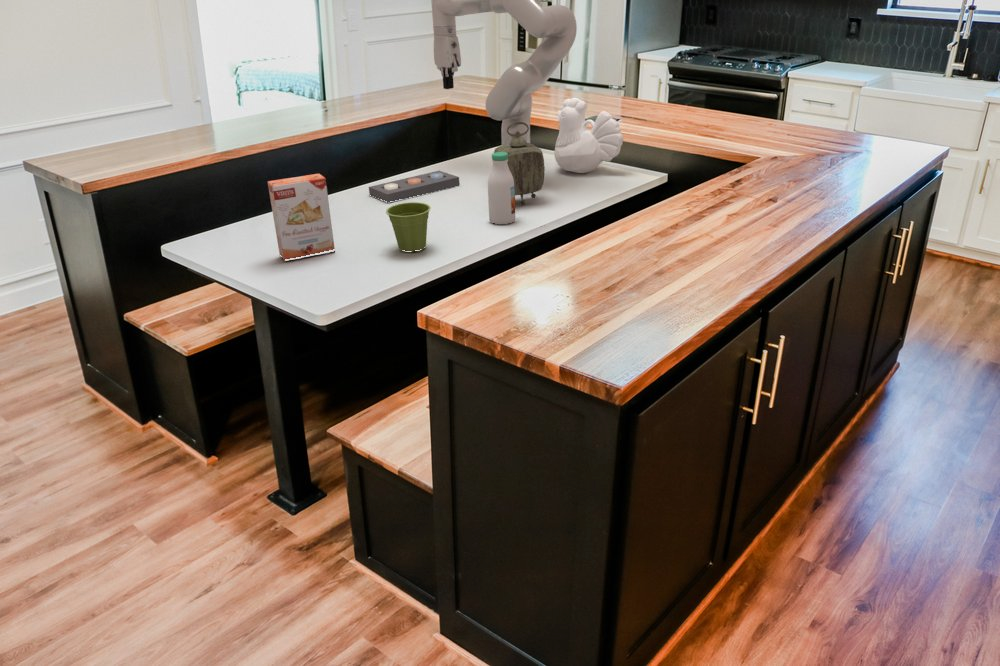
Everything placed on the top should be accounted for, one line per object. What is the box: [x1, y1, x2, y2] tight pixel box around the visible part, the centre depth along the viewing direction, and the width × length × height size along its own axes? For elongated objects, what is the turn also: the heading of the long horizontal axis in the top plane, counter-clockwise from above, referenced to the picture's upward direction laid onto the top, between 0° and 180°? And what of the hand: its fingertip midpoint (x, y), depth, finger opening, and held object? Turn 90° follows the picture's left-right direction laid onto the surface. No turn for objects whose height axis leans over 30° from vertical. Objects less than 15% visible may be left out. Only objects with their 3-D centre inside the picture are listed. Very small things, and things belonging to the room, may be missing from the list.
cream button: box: [384, 183, 398, 190], centre depth 258 cm, size 4×4×3 cm
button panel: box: [368, 170, 461, 202], centre depth 263 cm, size 12×28×3 cm, turn 128°
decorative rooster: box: [554, 97, 624, 174], centre depth 270 cm, size 25×16×25 cm, turn 43°
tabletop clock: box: [493, 122, 546, 206], centre depth 241 cm, size 14×9×25 cm, turn 108°
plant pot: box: [385, 201, 432, 252], centre depth 211 cm, size 12×12×11 cm
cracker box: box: [267, 173, 336, 261], centre depth 208 cm, size 14×6×21 cm, turn 117°
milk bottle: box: [487, 152, 516, 225], centre depth 227 cm, size 8×8×20 cm
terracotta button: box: [408, 178, 421, 185], centre depth 263 cm, size 4×4×3 cm
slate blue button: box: [430, 173, 443, 179], centre depth 268 cm, size 4×4×3 cm
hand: (448, 88), depth 271 cm, fingers closed
